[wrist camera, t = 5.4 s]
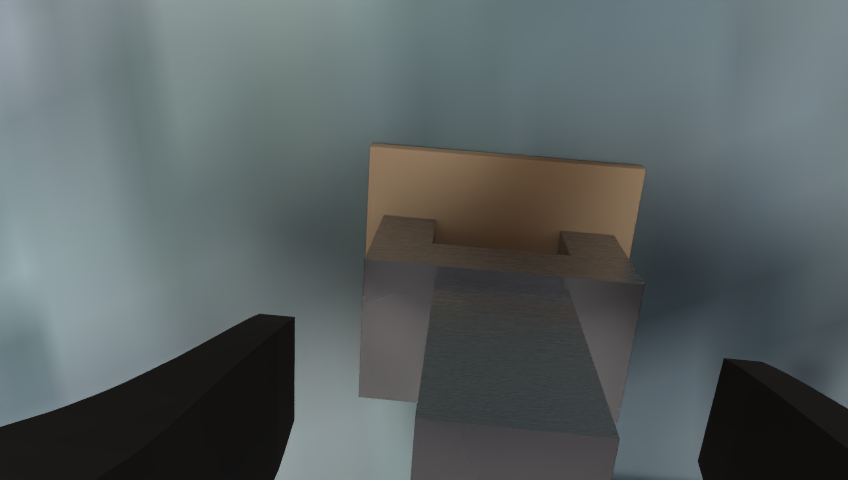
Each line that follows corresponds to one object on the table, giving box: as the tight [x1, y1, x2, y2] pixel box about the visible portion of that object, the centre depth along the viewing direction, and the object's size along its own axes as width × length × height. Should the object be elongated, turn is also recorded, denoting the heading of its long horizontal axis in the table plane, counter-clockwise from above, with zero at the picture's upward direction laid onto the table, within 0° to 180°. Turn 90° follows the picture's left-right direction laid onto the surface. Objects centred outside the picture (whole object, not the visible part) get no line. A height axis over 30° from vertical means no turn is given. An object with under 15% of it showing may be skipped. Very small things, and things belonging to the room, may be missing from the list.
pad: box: [366, 143, 646, 258], centre depth 16 cm, size 6×6×1 cm
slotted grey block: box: [359, 215, 645, 480], centre depth 12 cm, size 3×5×7 cm, turn 86°
